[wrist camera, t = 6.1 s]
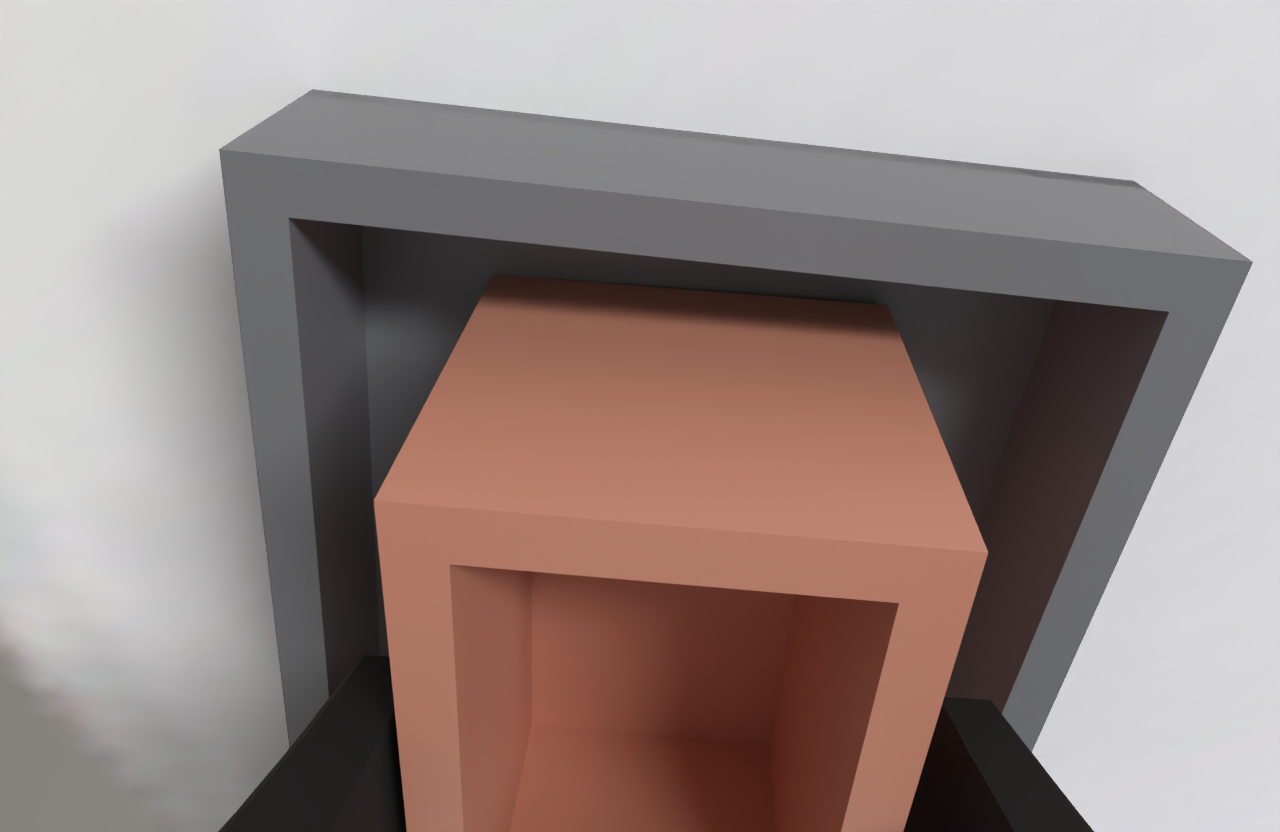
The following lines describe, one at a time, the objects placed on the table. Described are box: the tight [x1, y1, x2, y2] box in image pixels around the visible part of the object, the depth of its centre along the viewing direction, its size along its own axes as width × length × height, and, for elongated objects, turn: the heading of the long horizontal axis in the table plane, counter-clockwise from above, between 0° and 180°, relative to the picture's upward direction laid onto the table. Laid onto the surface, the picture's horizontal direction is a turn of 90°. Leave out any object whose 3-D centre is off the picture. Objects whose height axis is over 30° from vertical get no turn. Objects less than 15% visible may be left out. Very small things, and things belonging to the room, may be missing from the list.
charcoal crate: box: [219, 89, 1253, 752], centre depth 13 cm, size 12×10×3 cm
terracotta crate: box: [374, 274, 988, 832], centre depth 12 cm, size 8×5×5 cm, turn 177°
